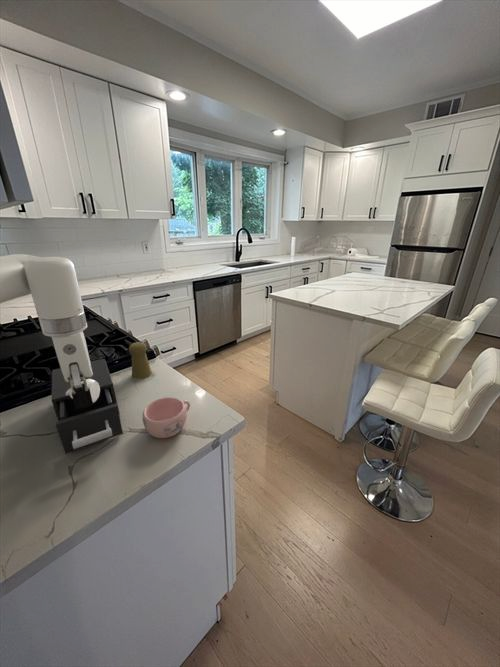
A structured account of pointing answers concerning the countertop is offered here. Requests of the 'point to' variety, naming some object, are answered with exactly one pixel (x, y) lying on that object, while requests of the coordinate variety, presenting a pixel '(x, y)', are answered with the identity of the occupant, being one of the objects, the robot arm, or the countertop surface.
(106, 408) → the dark grey drawer
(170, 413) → the mug
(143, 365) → the cork
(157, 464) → the countertop surface
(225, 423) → the countertop surface
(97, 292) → the countertop surface
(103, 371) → the drawer cabinet
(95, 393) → the garlic bulb
